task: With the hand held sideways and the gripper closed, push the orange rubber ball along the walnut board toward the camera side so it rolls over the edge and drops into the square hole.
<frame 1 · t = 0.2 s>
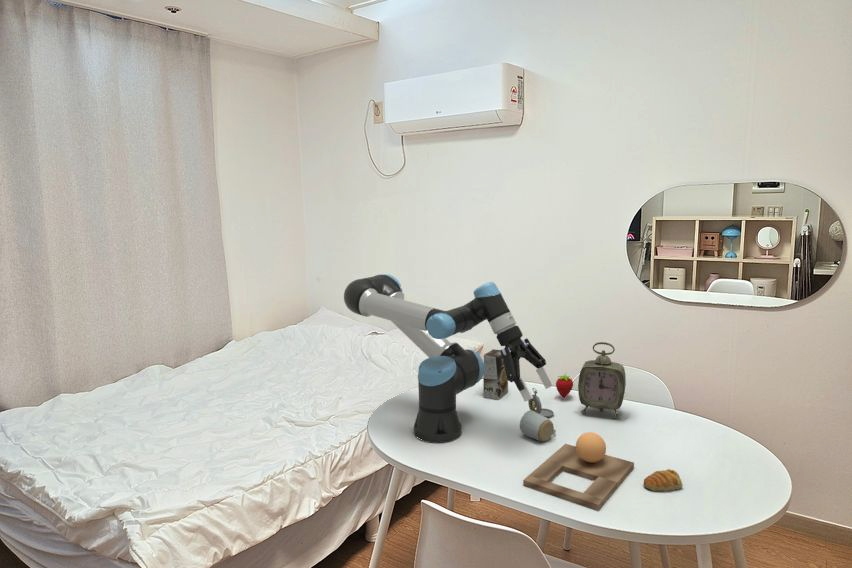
hand: (539, 393, 173), 15 cm above the table, tool tilted 35°, fingers open, 13 cm apart
pocket watch: (540, 416, 195), on the table
tabletop clock: (601, 414, 195), on the table
ceramic mug: (539, 437, 179), on the table
ball: (590, 447, 159), point 5 cm above the table, touching hole board
pastry: (663, 487, 149), on the table
strawberry: (564, 398, 210), on the table
coffee box: (495, 395, 214), on the table
hole board: (580, 476, 154), on the table
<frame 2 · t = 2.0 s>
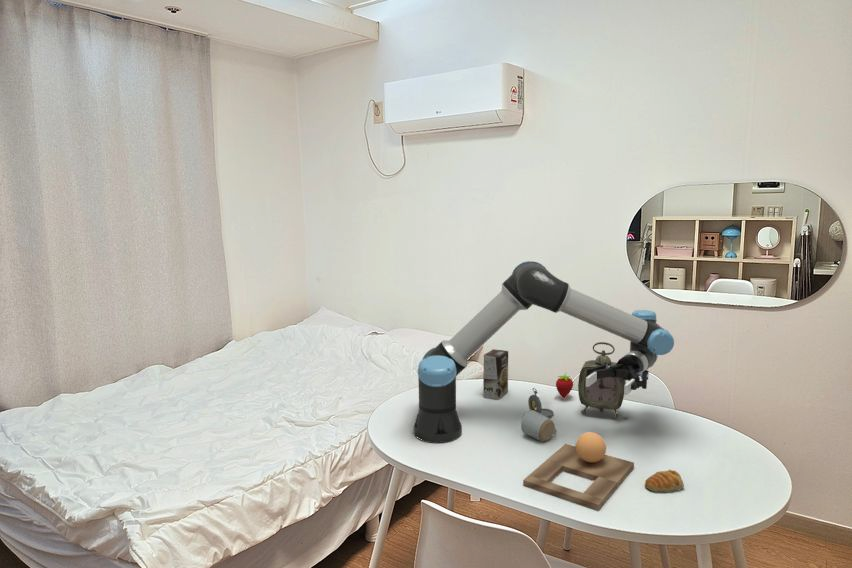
hand: (605, 386, 164), 20 cm above the table, tool horizontal, fingers open, 10 cm apart
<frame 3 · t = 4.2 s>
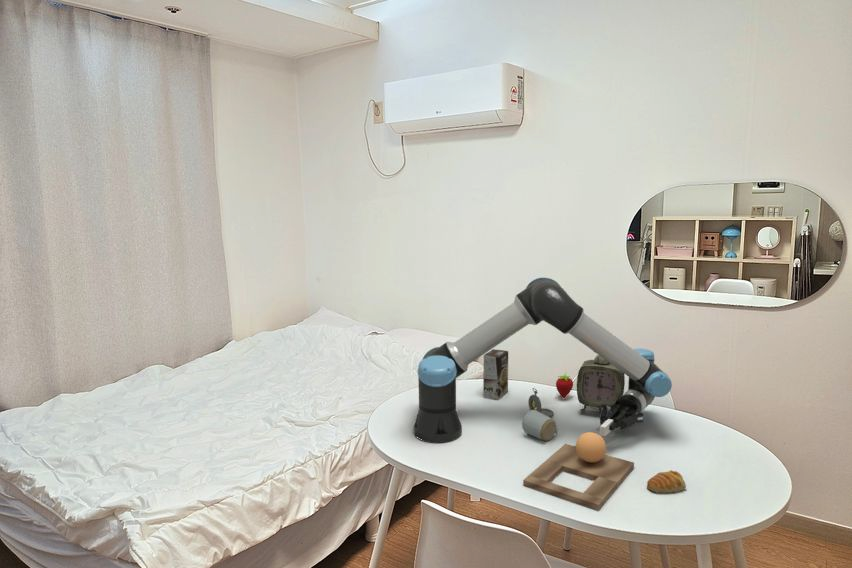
hand: (602, 431, 165), 7 cm above the table, tool horizontal, fingers closed
tabletop clock: (599, 413, 196), on the table, touching arm
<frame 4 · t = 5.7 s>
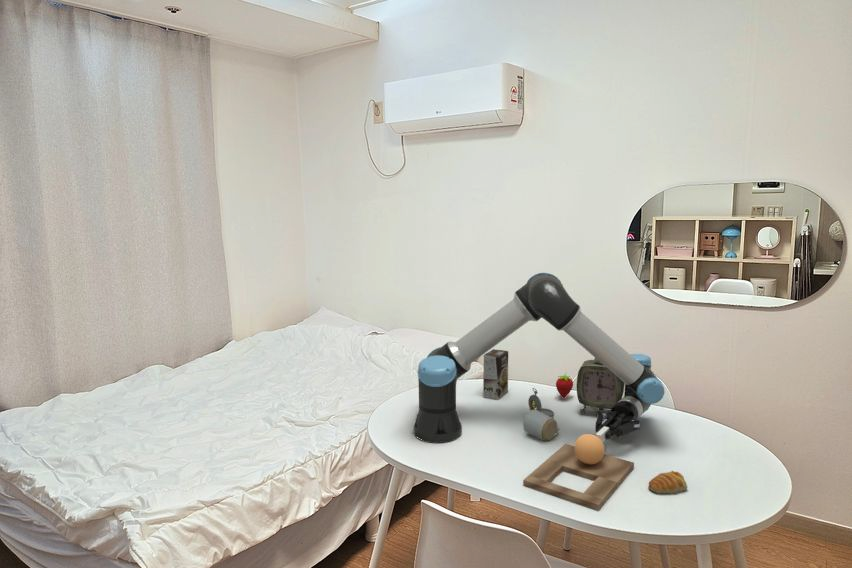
hand: (598, 439, 161), 7 cm above the table, tool horizontal, fingers closed
tabletop clock: (599, 413, 196), on the table
ball: (589, 449, 158), point 5 cm above the table, tilted 18°, touching hole board
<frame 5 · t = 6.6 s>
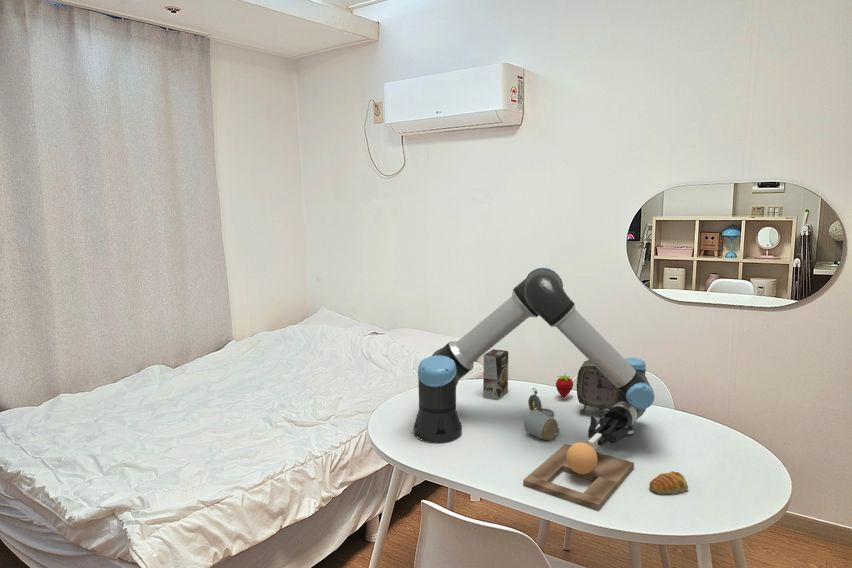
hand: (590, 446, 157), 7 cm above the table, tool horizontal, fingers closed
ball: (581, 458, 153), point 5 cm above the table, tilted 105°, touching hole board
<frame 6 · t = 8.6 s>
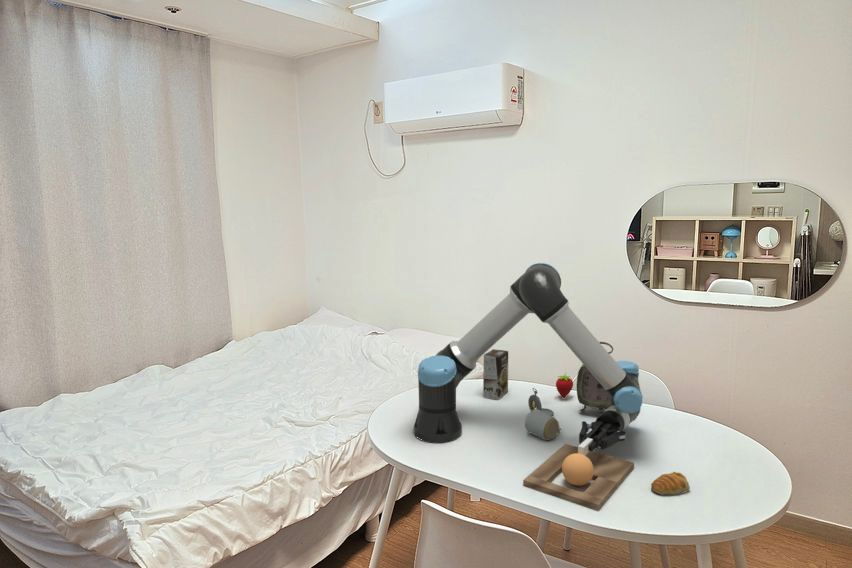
hand: (580, 451, 153), 7 cm above the table, tool horizontal, fingers closed
ball: (577, 469, 150), point 4 cm above the table, tilted 165°, touching gripper
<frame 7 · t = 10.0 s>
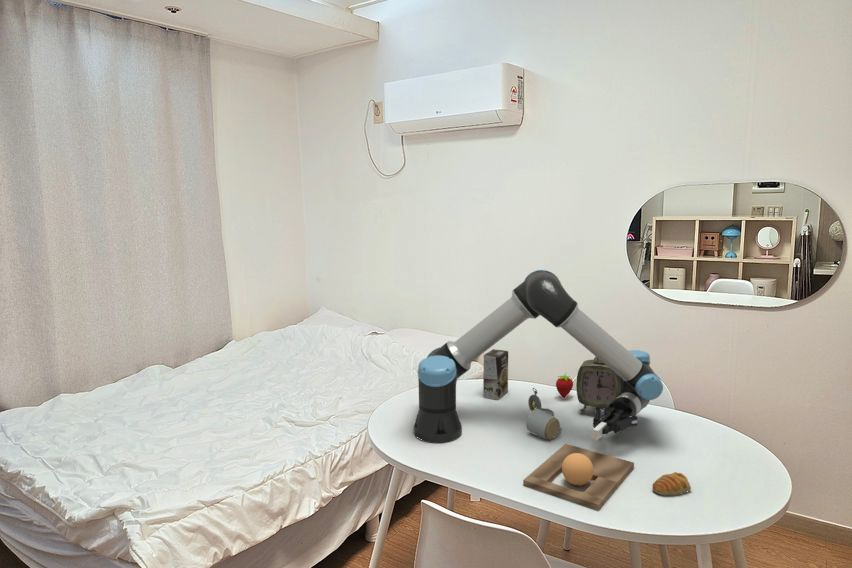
hand: (595, 434, 161), 8 cm above the table, tool horizontal, fingers closed
tabletop clock: (599, 413, 196), on the table, touching arm
ball: (577, 469, 150), point 4 cm above the table, tilted 163°
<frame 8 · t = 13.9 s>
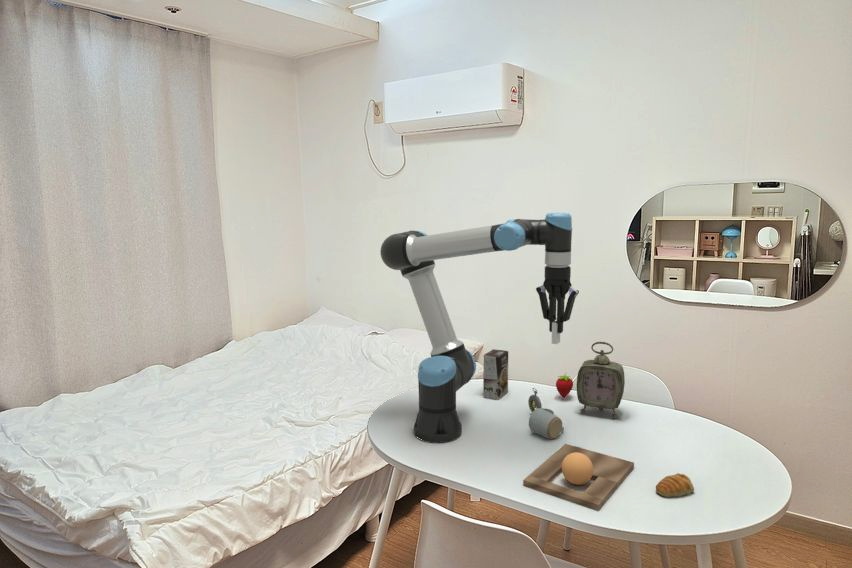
hand: (555, 342, 175), 29 cm above the table, tool pointing down, fingers closed
tabletop clock: (599, 413, 196), on the table
ball: (577, 468, 151), point 4 cm above the table, tilted 158°
at the end: ball 1.5 cm from the target spot on the hole board, point 4.0 cm above the hole board's base; the gripper is holding nothing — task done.
